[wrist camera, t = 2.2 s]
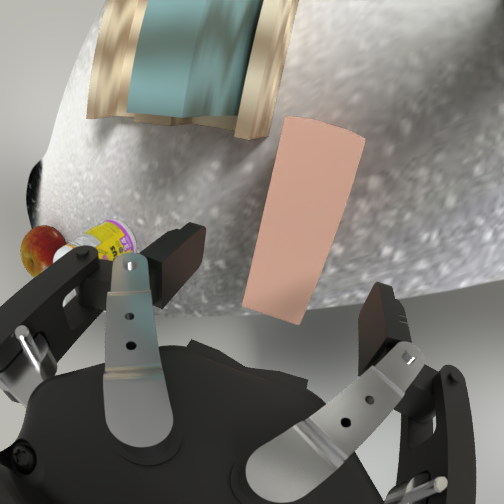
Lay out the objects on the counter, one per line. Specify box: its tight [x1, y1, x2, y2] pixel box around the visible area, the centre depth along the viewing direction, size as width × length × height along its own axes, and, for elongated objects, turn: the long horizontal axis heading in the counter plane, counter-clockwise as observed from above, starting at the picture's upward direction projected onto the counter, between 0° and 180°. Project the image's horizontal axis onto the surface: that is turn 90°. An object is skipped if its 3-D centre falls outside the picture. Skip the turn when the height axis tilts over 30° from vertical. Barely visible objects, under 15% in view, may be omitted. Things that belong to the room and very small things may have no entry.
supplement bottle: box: [43, 219, 137, 307], centre depth 29 cm, size 7×7×13 cm
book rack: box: [86, 0, 299, 140], centre depth 16 cm, size 15×18×12 cm
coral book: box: [242, 116, 366, 325], centre depth 19 cm, size 12×4×11 cm, turn 169°
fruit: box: [20, 225, 66, 277], centre depth 36 cm, size 10×9×8 cm
